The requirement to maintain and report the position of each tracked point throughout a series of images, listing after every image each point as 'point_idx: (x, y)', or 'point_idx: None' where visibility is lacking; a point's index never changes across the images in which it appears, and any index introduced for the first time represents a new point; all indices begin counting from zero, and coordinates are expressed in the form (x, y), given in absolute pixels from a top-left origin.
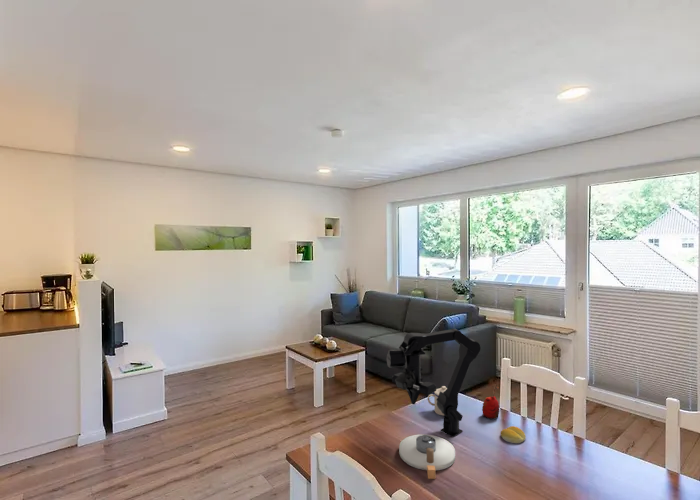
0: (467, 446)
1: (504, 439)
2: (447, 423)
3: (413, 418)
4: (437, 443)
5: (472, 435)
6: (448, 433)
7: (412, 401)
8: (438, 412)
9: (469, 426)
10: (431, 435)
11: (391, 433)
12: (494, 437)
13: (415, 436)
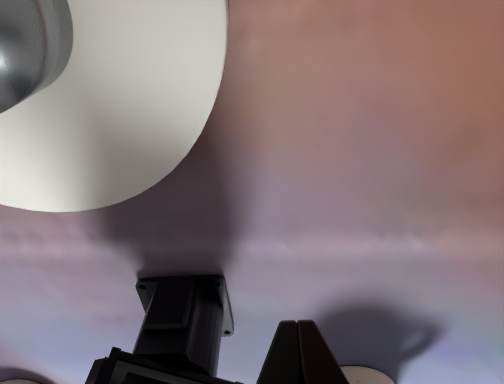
0: (34, 264)
1: (24, 382)
2: (152, 328)
3: (433, 268)
4: (32, 142)
5: (112, 336)
6: (158, 280)
7: (293, 359)
8: (352, 375)
9: None
10: (145, 186)
11: (437, 7)
12: (60, 372)
13: (195, 83)
